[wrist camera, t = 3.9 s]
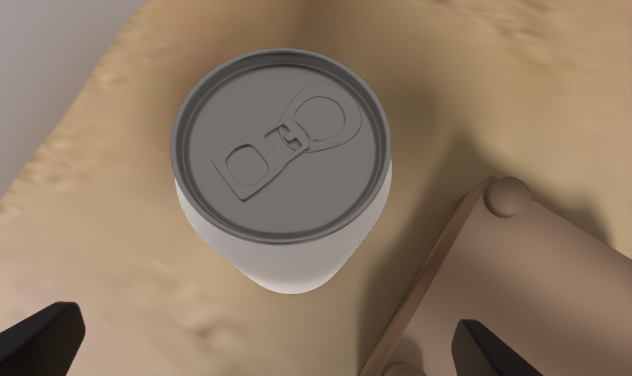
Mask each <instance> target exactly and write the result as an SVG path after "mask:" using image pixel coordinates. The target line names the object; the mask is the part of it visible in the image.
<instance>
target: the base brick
mask: <svg viewBox="0 0 632 376" xmlns="http://www.w3.org/2000/svg"><path fill="white" fill-rule="evenodd" d="M460 319H475V320H478V321H480V322H481V323H482V324H483V325H485V326H486V327H487V328H488V329H489V330H491V331H492V332H493V333H494V334H495V335H496V336H498V337H499V338H500V339H501V340H502V341H504V342H505V343H506V344H507V345H508V346H509V347H511V348H512V349H513V350H514V351H515V352H517V353H518V354H519V355H520V356H521V357H522V358H524V359H525V360H526V361H527V362H528V363H530V364H531V365H532V366H533V367H534V368H535V369H537V370H538V371H539V372H540V373H541V374H543V375H544V376H632V260H631V259H630V258H628V257H626V256H625V255H623V254H621V253H620V252H618V251H616V250H615V249H613V248H611V247H610V246H608V245H606V244H605V243H603V242H601V241H600V240H598V239H597V238H595V237H593V236H592V235H590V234H588V233H587V232H585V231H583V230H582V229H580V228H578V227H577V226H575V225H573V224H572V223H570V222H568V221H567V220H565V219H563V218H562V217H560V216H558V215H557V214H555V213H553V212H552V211H550V210H549V209H547V208H545V207H544V206H542V205H540V204H539V203H537V202H535V201H534V200H532V199H531V193H530V190H529V189H528V187H527V186H526V185H525V184H524V183H523V182H522V181H521V180H519V179H517V178H513V177H504V178H502V179H500V180H499V179H497V178H496V177H494V176H492V175H491V176H490V177H489V178H487V179H486V180H485V181H483V182H482V183H481V184H479V185H478V186H476V187H475V188H474V189H472V190H471V191H470V192H468V193H467V194H466V195H464V196H463V197H462V198H461V200H460V202H459V204H458V205H457V207H456V209H455V210H454V212H453V214H452V216H451V217H450V219H449V221H448V223H447V224H446V226H445V228H444V229H443V231H442V233H441V235H440V236H439V238H438V240H437V242H436V243H435V245H434V247H433V248H432V250H431V252H430V254H429V255H428V257H427V259H426V261H425V262H424V264H423V266H422V267H421V269H420V271H419V273H418V274H417V276H416V278H415V280H414V281H413V283H412V285H411V286H410V288H409V290H408V292H407V293H406V295H405V297H404V298H403V300H402V302H401V304H400V305H399V307H398V309H397V311H396V312H395V314H394V316H393V317H392V319H391V321H390V323H389V324H388V326H387V328H386V330H385V331H384V333H383V335H382V336H381V338H380V340H379V342H378V343H377V345H376V347H375V349H374V350H373V352H372V354H371V355H370V357H369V359H368V361H367V362H366V364H365V366H364V368H363V369H362V371H361V373H360V374H359V376H457V373H456V369H455V365H454V361H453V357H452V352H451V343H452V339H453V336H454V333H455V330H456V327H457V324H458V321H459V320H460Z"/></svg>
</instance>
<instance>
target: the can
mask: <svg viewBox="0 0 632 376" xmlns="http://www.w3.org/2000/svg"><path fill="white" fill-rule="evenodd" d="M391 150H392V142H391V132H390V126H389V122H388V119H387V116H386V113H385V111H384V109H383V107H382V104H381V103H380V101H379V99H378V98H377V96H376V94H375V93H374V92H373V90H372V89H371V88H370V87H369V85H368V84H367V83H366V82H365V81H364V80H363V79H362V78H361V77H360V76H359V75H357V74H356V73H355V72H354V71H352V70H351V69H350V68H348V67H347V66H345V65H343V64H342V63H340V62H338V61H336V60H334V59H332V58H330V57H327V56H325V55H322V54H319V53H315V52H312V51H307V50H302V49H294V48H270V49H262V50H257V51H252V52H249V53H245V54H242V55H239V56H237V57H234V58H232V59H230V60H228V61H226V62H224V63H222V64H220V65H219V66H217V67H216V68H214V69H213V70H211V71H210V72H209V73H207V74H206V75H205V76H204V77H203V78H202V79H201V80H199V81H198V82H197V84H196V85H195V86H194V87H193V88H192V89H191V90H190V92H189V93H188V95H187V96H186V97H185V99H184V101H183V102H182V104H181V106H180V108H179V110H178V112H177V115H176V117H175V120H174V124H173V128H172V133H171V140H170V155H171V163H172V168H173V172H174V175H175V184H176V190H177V194H178V198H179V201H180V204H181V207H182V209H183V211H184V213H185V215H186V217H187V219H188V220H189V222H190V224H191V225H192V227H193V228H194V229H195V231H196V232H197V233H198V235H199V236H200V237H201V238H202V239H203V240H204V241H205V242H206V243H207V244H208V245H209V246H210V247H211V248H212V249H213V250H214V251H216V252H217V253H218V254H219V255H220V256H222V257H223V258H224V259H225V260H227V261H228V262H229V263H231V264H232V265H233V266H234V267H236V268H237V269H238V270H240V271H241V272H242V273H244V274H245V275H246V276H248V277H249V278H250V279H252V280H253V281H254V282H256V283H257V284H259V285H261V286H262V287H264V288H266V289H269V290H271V291H274V292H278V293H284V294H298V293H304V292H308V291H311V290H313V289H316V288H318V287H319V286H321V285H323V284H324V283H326V282H327V281H328V280H329V279H331V278H332V277H333V276H334V275H335V274H336V273H337V272H338V270H339V269H340V268H341V267H342V266H343V265H344V264H345V262H346V261H347V260H348V259H349V258H350V256H351V255H352V254H353V253H354V252H355V250H356V249H357V248H358V247H359V245H360V244H361V243H362V242H363V240H364V239H365V238H366V237H367V235H368V234H369V233H370V231H371V230H372V228H373V227H374V225H375V224H376V222H377V221H378V219H379V217H380V215H381V213H382V211H383V209H384V206H385V204H386V201H387V198H388V195H389V191H390V186H391V179H392V161H391Z"/></svg>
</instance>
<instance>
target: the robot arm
mask: <svg viewBox="0 0 632 376" xmlns="http://www.w3.org/2000/svg"><path fill="white" fill-rule="evenodd" d="M84 336H85V324H84V321H83V317H82V314H81V311H80V307H79V305H78V304H77V303H75V302H62V301H60V302H55V303H53V304H51V305H50V306H48V307H46V308H44V309H42V310H41V311H39V312H37V313H35V314H33V315H32V316H30V317H28V318H26V319H24V320H23V321H21V322H19V323H17V324H15V325H14V326H12V327H10V328H8V329H6V330H5V331H3V332H1V333H0V376H66V374H67V372H68V370H69V368H70V366H71V364H72V362H73V360H74V358H75V356H76V354H77V351H78V349H79V347H80V345H81V343H82V341H83V339H84ZM451 352H452V357H453V361H454V365H455V369H456V373H457V376H544V375H543V374H541V373H540V372H539V371H538V370H537V369H535V368H534V367H533V366H532V365H531V364H530V363H528V362H527V361H526V360H525V359H524V358H522V357H521V356H520V355H519V354H518V353H517V352H515V351H514V350H513V349H512V348H511V347H509V346H508V345H507V344H506V343H505V342H504V341H502V340H501V339H500V338H499V337H498V336H496V335H495V334H494V333H493V332H492V331H491V330H489V329H488V328H487V327H486V326H485V325H483V324H482V323H481V322H480V321H478V320H475V319H460V320H459V321H458V324H457V327H456V330H455V333H454V336H453V339H452V343H451Z"/></svg>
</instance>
